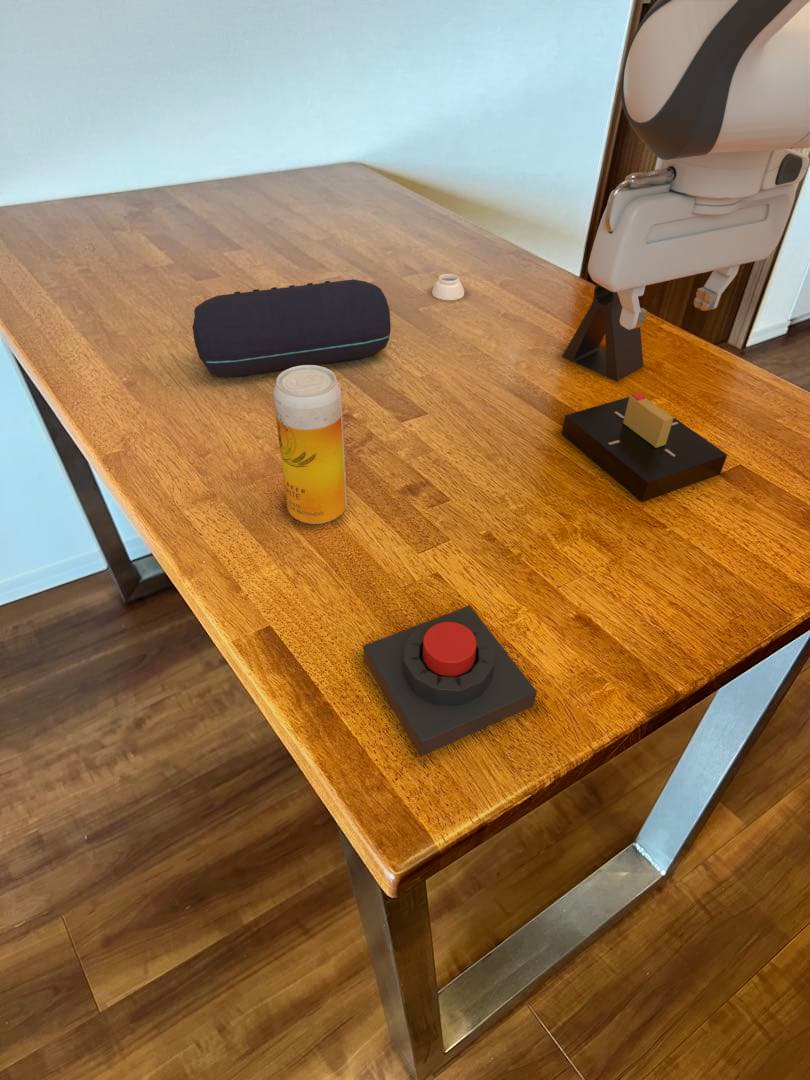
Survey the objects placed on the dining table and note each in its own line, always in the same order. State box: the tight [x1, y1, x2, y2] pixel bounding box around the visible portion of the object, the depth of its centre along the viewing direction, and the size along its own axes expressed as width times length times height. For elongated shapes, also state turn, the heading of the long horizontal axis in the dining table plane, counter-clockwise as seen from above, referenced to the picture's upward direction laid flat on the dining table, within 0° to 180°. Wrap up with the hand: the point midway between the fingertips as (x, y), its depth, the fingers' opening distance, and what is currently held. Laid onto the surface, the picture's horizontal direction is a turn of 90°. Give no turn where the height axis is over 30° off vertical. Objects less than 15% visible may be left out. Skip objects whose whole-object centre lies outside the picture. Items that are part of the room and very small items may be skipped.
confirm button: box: [423, 622, 476, 677], centre depth 56 cm, size 4×4×2 cm
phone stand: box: [561, 283, 644, 382], centre depth 94 cm, size 9×6×12 cm, turn 43°
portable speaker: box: [191, 278, 392, 377], centre depth 94 cm, size 25×10×10 cm, turn 109°
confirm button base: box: [362, 605, 538, 757], centre depth 57 cm, size 10×10×4 cm
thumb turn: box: [623, 391, 675, 448], centre depth 79 cm, size 6×1×4 cm, turn 27°
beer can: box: [272, 365, 348, 525], centre depth 70 cm, size 6×6×15 cm
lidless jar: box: [431, 273, 465, 301], centre depth 113 cm, size 5×3×5 cm
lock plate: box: [561, 396, 728, 503], centre depth 81 cm, size 14×11×3 cm
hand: (668, 316), depth 71 cm, fingers open, 8 cm apart
